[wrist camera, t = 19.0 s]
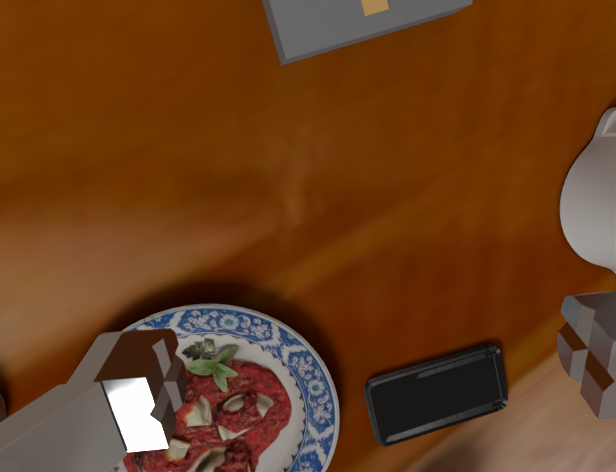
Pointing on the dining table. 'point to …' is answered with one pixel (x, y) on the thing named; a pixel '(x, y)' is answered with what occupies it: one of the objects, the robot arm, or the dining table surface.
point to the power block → (344, 22)
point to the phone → (436, 394)
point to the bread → (2, 409)
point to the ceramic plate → (243, 396)
